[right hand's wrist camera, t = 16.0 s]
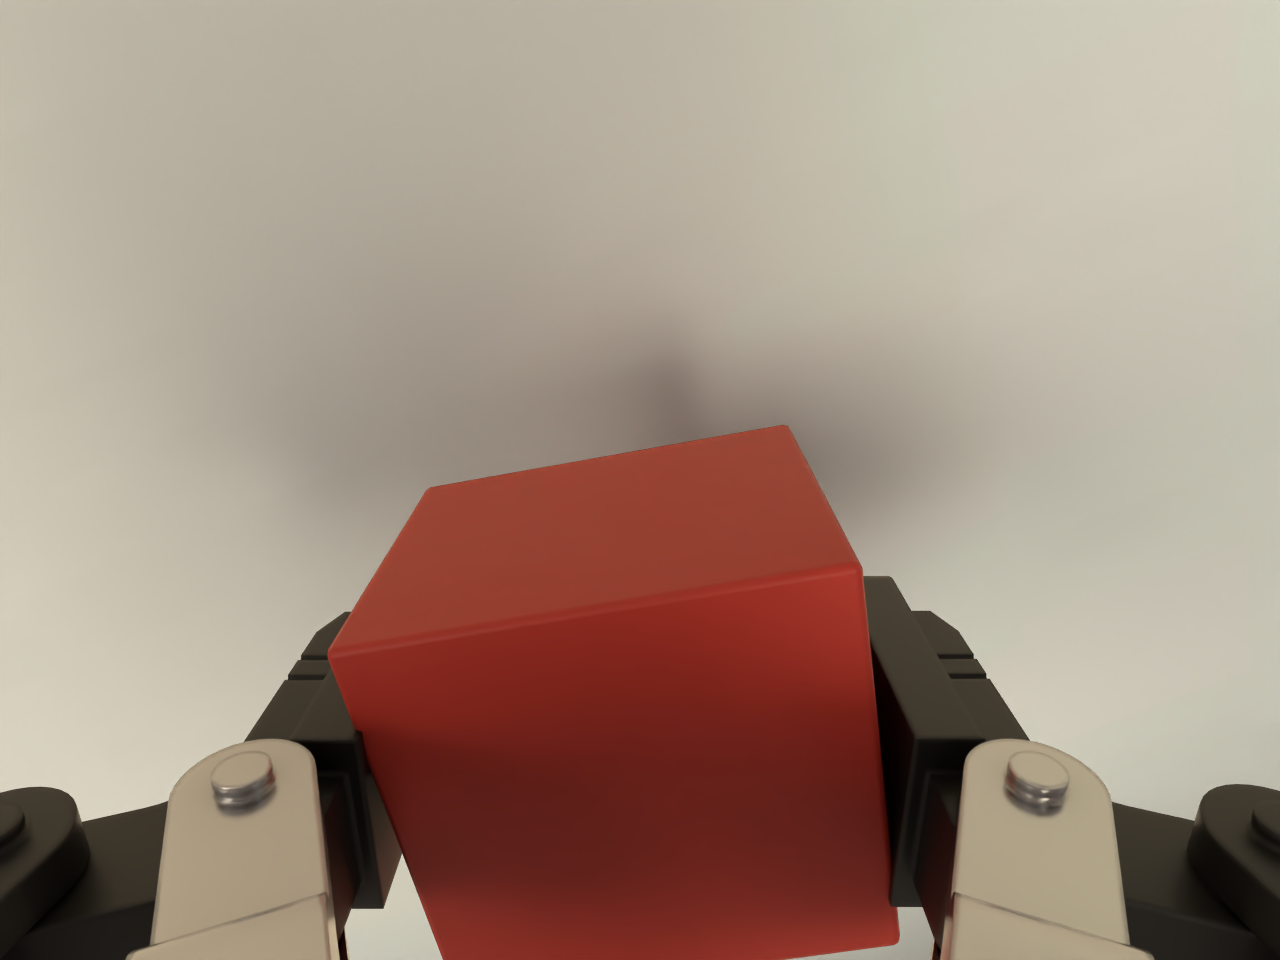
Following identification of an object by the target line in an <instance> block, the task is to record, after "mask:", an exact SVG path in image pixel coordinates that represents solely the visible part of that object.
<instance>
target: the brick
mask: <svg viewBox="0 0 1280 960" xmlns="http://www.w3.org/2000/svg"><path fill="white" fill-rule="evenodd" d="M328 660H329V663H330V666H331V668H332V671H333V673H334V676H335V679H336V681H337V684H338V686H339V689H340V692H341V694H342V697H343V700H344V702H345V705H346V707H347V710H348V713H349V715H350V718H351V720H352V723H353V726H354V728H355V730H358V731H362V734H363V740H364V745H365V751H366V756H367V761H368V765H369V767H370V770H371V773H372V775H373V778H374V780H375V783H376V786H377V788H378V791H379V794H380V796H381V799H382V801H383V804H384V807H385V809H386V812H387V814H388V817H389V820H390V822H391V825H392V827H393V830H394V833H395V835H396V838H397V840H398V843H399V846H400V848H401V851H402V854H403V856H404V859H405V861H406V864H407V867H408V869H409V872H410V874H411V877H412V880H413V882H414V885H415V887H416V890H417V893H418V895H419V898H420V901H421V903H422V906H423V908H424V911H425V914H426V916H427V919H428V921H429V924H430V927H431V929H432V932H433V934H434V937H435V940H436V942H437V945H438V948H439V950H440V953H441V955H442V958H443V960H785V959H793V958H800V957H808V956H815V955H823V954H830V953H838V952H845V951H853V950H860V949H868V948H875V947H883V946H890V945H895V944H896V943H898V941H899V936H900V933H899V923H898V913H897V907H891V906H890V903H889V900H888V894H889V885H890V876H891V844H890V834H889V825H888V815H887V805H886V795H885V785H884V775H883V766H882V756H881V746H880V736H879V726H878V717H877V707H876V697H875V687H874V677H873V667H872V658H871V648H870V638H869V628H868V618H867V609H866V599H865V589H864V579H863V569H862V566H861V564H860V562H859V560H858V558H857V557H856V555H855V553H854V551H853V549H852V547H851V545H850V543H849V541H848V539H847V537H846V536H845V534H844V532H843V530H842V528H841V526H840V524H839V522H838V520H837V518H836V516H835V515H834V513H833V511H832V509H831V507H830V505H829V503H828V501H827V499H826V497H825V495H824V494H823V492H822V490H821V488H820V486H819V484H818V482H817V480H816V478H815V476H814V474H813V472H812V471H811V469H810V467H809V465H808V463H807V461H806V459H805V457H804V455H803V453H802V451H801V450H800V448H799V446H798V444H797V442H796V440H795V438H794V436H793V434H792V432H791V430H790V429H789V427H788V426H786V425H779V426H774V427H768V428H763V429H757V430H751V431H746V432H740V433H734V434H729V435H723V436H717V437H712V438H706V439H701V440H695V441H689V442H684V443H678V444H672V445H667V446H661V447H655V448H650V449H644V450H638V451H633V452H627V453H622V454H616V455H610V456H605V457H599V458H593V459H588V460H582V461H576V462H571V463H565V464H560V465H554V466H548V467H543V468H537V469H531V470H526V471H520V472H514V473H509V474H503V475H498V476H492V477H486V478H481V479H475V480H469V481H464V482H458V483H452V484H447V485H441V486H435V487H430V488H429V489H427V490H426V492H425V493H424V495H423V497H422V498H421V500H420V501H419V503H418V505H417V506H416V508H415V510H414V511H413V513H412V514H411V516H410V518H409V519H408V521H407V523H406V524H405V526H404V527H403V529H402V531H401V532H400V534H399V536H398V537H397V539H396V540H395V542H394V544H393V545H392V547H391V549H390V550H389V552H388V553H387V555H386V557H385V558H384V560H383V561H382V563H381V565H380V566H379V568H378V570H377V571H376V573H375V574H374V576H373V578H372V579H371V581H370V583H369V584H368V586H367V587H366V589H365V591H364V592H363V594H362V596H361V597H360V599H359V600H358V602H357V604H356V605H355V607H354V609H353V610H352V612H351V613H350V615H349V617H348V618H347V620H346V622H345V623H344V625H343V626H342V628H341V630H340V631H339V633H338V634H337V636H336V638H335V639H334V641H333V643H332V644H331V646H330V647H329V649H328Z"/></svg>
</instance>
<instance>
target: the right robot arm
mask: <svg viewBox="0 0 1280 960" xmlns="http://www.w3.org/2000/svg"><path fill="white" fill-rule="evenodd" d="M863 579H864V589H865V599H866V609H867V618H868V628H869V638H870V648H871V658H872V667H873V677H874V687H875V697H876V707H877V717H878V726H879V736H880V746H881V756H882V766H883V775H884V785H885V795H886V805H887V815H888V825H889V834H890V844H891V876H890V885H889V894H888V900H889V903H890V906H891V907H923V909H924V912H925V915H926V917H927V920H928V923H929V925H930V928H931V931H932V933H933V936H934V939H933V945H932V950H931V957H930V960H1280V791H1277V790H1273V789H1269V788H1265V787H1260V786H1254V785H1243V784H1233V785H1224V786H1220V787H1216V788H1214V789H1212V790H1210V791H1208V792H1207V793H1206V794H1205V795H1204V796H1203V798H1202V800H1201V802H1200V806H1199V809H1198V812H1197V815H1196V818H1195V821H1192V820H1188V819H1183V818H1179V817H1174V816H1170V815H1165V814H1161V813H1156V812H1152V811H1147V810H1143V809H1138V808H1134V807H1129V806H1125V805H1122V804H1118V803H1114V802H1112V801H1111V797H1110V794H1109V792H1108V790H1107V788H1106V786H1105V784H1104V783H1103V782H1102V781H1101V779H1100V778H1099V777H1098V776H1097V775H1096V774H1095V773H1094V772H1093V771H1092V770H1091V769H1090V768H1088V767H1087V766H1086V765H1084V764H1083V763H1082V762H1080V761H1079V760H1077V759H1075V758H1074V757H1072V756H1071V755H1069V754H1066V753H1064V752H1062V751H1060V750H1058V749H1055V748H1053V747H1050V746H1048V745H1044V744H1041V743H1037V742H1033V741H1030V740H1029V738H1028V737H1027V735H1026V734H1025V732H1024V731H1023V729H1022V728H1021V726H1020V725H1019V723H1018V722H1017V720H1016V719H1015V717H1014V715H1013V714H1012V712H1011V711H1010V709H1009V708H1008V706H1007V705H1006V703H1005V702H1004V700H1003V699H1002V697H1001V696H1000V694H999V693H998V691H997V689H996V688H995V686H994V685H993V683H992V682H991V680H990V679H987V678H986V673H985V671H984V670H983V668H982V667H981V665H980V663H979V662H978V660H977V659H974V654H973V653H972V651H971V650H970V648H969V647H968V645H967V644H966V642H965V641H964V639H963V637H962V636H961V634H960V633H959V631H958V630H956V629H955V628H953V627H952V626H951V625H949V624H948V623H946V622H945V621H944V620H942V619H941V618H939V617H938V616H936V615H935V614H934V613H932V612H931V611H911V609H910V608H909V606H908V604H907V603H906V601H905V599H904V597H903V596H902V594H901V592H900V591H899V589H898V587H897V585H896V584H895V582H894V580H893V579H892V578H891V577H889V576H863ZM350 613H351V612H344V613H343V614H341V615H340V616H339V617H337V618H336V619H334V620H333V621H332V622H330V623H329V624H327V625H326V626H325V627H323V628H322V629H320V630H319V631H317V632H316V634H315V635H314V637H313V638H312V640H311V641H310V643H309V644H308V646H307V647H306V649H305V650H304V652H303V653H302V655H301V660H298V661H297V663H296V664H295V666H294V667H293V669H292V670H291V672H290V673H289V675H288V680H285V681H284V682H283V684H282V685H281V687H280V688H279V690H278V691H277V693H276V694H275V696H274V697H273V699H272V700H271V702H270V703H269V705H268V706H267V708H266V709H265V711H264V712H263V714H262V715H261V717H260V718H259V720H258V721H257V723H256V724H255V726H254V727H253V729H252V730H251V732H250V733H249V735H248V736H247V738H246V739H245V741H244V742H243V743H239V744H236V745H232V746H230V747H227V748H225V749H222V750H220V751H218V752H216V753H214V754H211V755H209V756H208V757H206V758H205V759H203V760H201V761H200V762H198V763H197V764H196V765H194V766H193V767H192V768H190V769H189V770H188V771H187V772H186V773H185V774H184V775H183V776H182V777H181V778H180V779H179V781H178V782H177V783H176V784H175V786H174V788H173V790H172V792H171V794H170V797H169V801H167V802H164V803H161V804H158V805H154V806H150V807H147V808H143V809H138V810H134V811H129V812H125V813H120V814H116V815H111V816H107V817H102V818H98V819H93V820H89V821H84V822H82V821H81V818H80V815H79V812H78V809H77V805H76V803H75V801H74V799H73V798H72V797H71V796H70V795H69V794H68V793H66V792H64V791H62V790H59V789H55V788H49V787H27V788H21V789H14V790H10V791H6V792H2V793H0V960H350V957H349V950H348V945H347V939H346V933H345V928H344V926H345V924H346V921H347V918H348V916H349V913H350V911H351V909H383V908H384V905H385V902H386V899H387V896H388V893H389V890H390V887H391V884H392V881H393V878H394V875H395V872H396V869H397V866H398V863H399V861H400V858H401V855H402V851H401V848H400V846H399V843H398V840H397V838H396V835H395V833H394V830H393V827H392V825H391V822H390V820H389V817H388V814H387V812H386V809H385V807H384V804H383V801H382V799H381V796H380V794H379V791H378V788H377V786H376V783H375V780H374V778H373V775H372V773H371V770H370V767H369V765H368V761H367V756H366V751H365V745H364V740H363V734H362V731H358V730H355V728H354V726H353V723H352V720H351V718H350V715H349V713H348V710H347V707H346V705H345V702H344V700H343V697H342V694H341V692H340V689H339V686H338V684H337V681H336V679H335V676H334V673H333V671H332V668H331V666H330V663H329V660H328V649H329V647H330V646H331V644H332V643H333V641H334V639H335V638H336V636H337V634H338V633H339V631H340V630H341V628H342V626H343V625H344V623H345V622H346V620H347V618H348V617H349V615H350Z"/></svg>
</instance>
